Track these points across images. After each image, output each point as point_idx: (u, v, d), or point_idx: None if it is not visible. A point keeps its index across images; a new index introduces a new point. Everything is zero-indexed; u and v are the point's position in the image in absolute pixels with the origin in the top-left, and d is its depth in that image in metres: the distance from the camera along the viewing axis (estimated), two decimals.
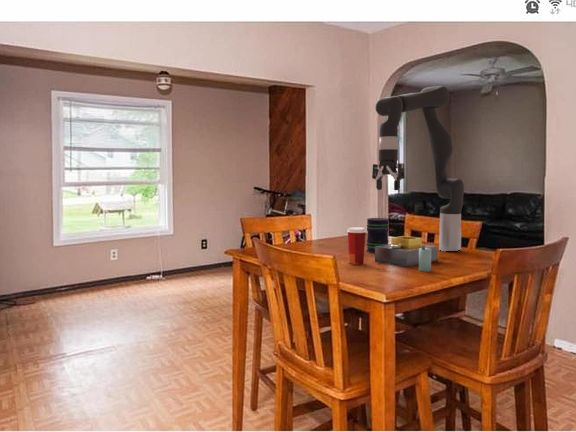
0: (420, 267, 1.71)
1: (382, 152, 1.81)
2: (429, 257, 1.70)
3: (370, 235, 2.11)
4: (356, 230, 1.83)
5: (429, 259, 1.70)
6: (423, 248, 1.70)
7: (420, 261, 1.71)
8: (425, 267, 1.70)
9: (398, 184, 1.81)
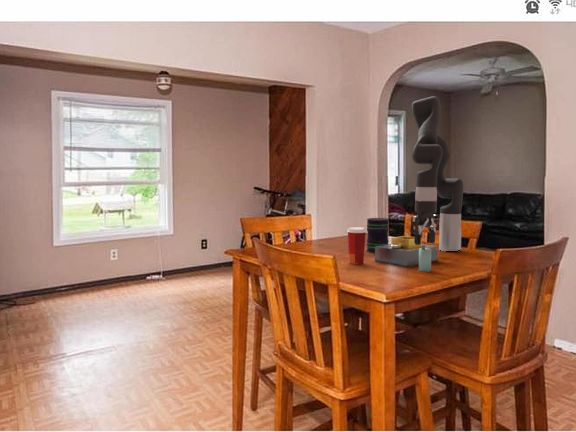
0: (420, 267, 1.71)
1: (434, 204, 1.67)
2: (429, 257, 1.70)
3: (370, 235, 2.11)
4: (356, 230, 1.83)
5: (429, 259, 1.70)
6: (423, 248, 1.70)
7: (420, 261, 1.71)
8: (425, 267, 1.70)
9: None
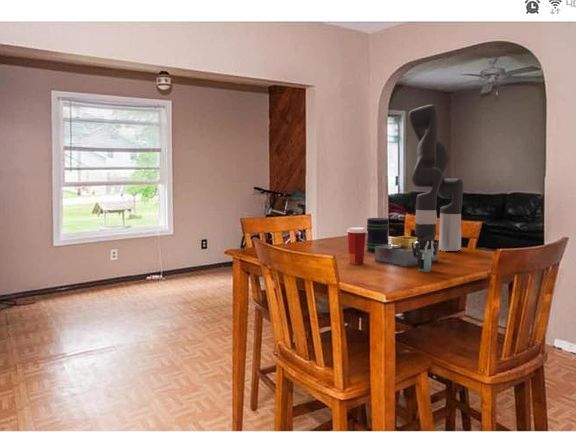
0: None
1: (434, 227, 1.68)
2: (429, 257, 1.70)
3: (370, 235, 2.11)
4: (356, 230, 1.83)
5: (429, 259, 1.70)
6: None
7: None
8: (425, 267, 1.70)
9: None
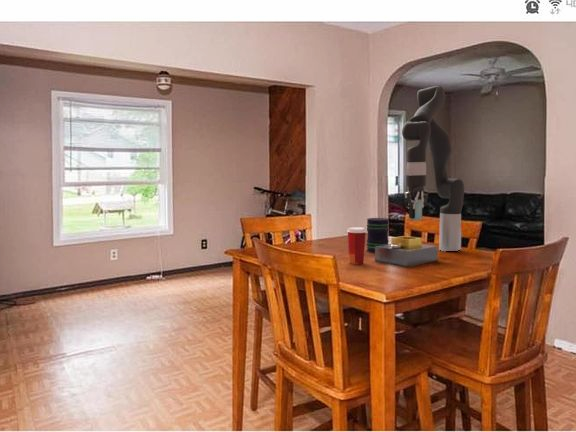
0: None
1: (424, 178, 1.78)
2: (420, 207, 1.80)
3: (370, 235, 2.11)
4: (356, 230, 1.83)
5: (420, 208, 1.81)
6: None
7: None
8: (416, 216, 1.81)
9: None
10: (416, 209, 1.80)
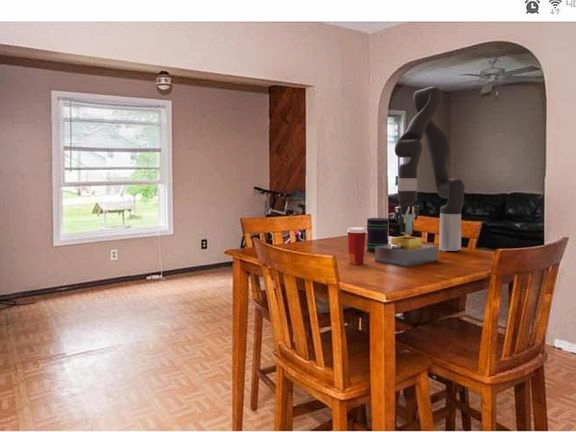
0: None
1: (415, 193, 1.86)
2: (410, 221, 1.88)
3: (370, 235, 2.11)
4: (356, 230, 1.83)
5: (410, 222, 1.88)
6: None
7: None
8: (406, 230, 1.88)
9: None
10: (406, 223, 1.88)
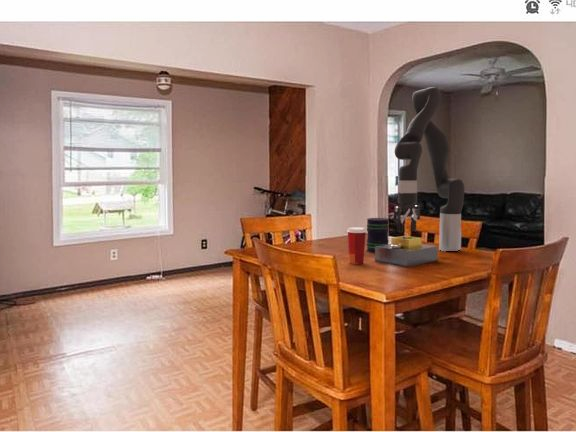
0: None
1: (415, 195, 1.86)
2: None
3: (370, 235, 2.11)
4: (356, 230, 1.83)
5: None
6: None
7: None
8: None
9: None
10: None
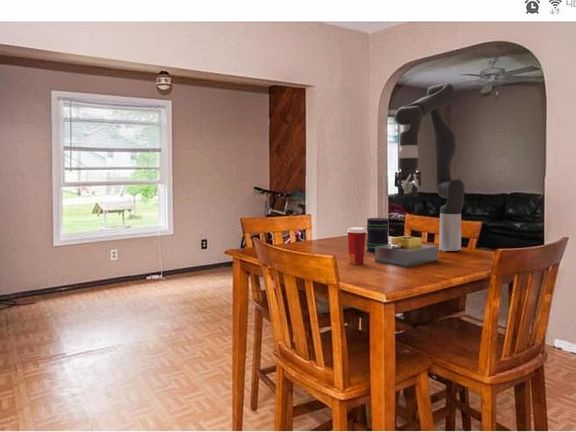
0: None
1: (416, 160, 1.85)
2: None
3: (370, 235, 2.11)
4: (356, 230, 1.83)
5: None
6: None
7: None
8: None
9: None
10: None
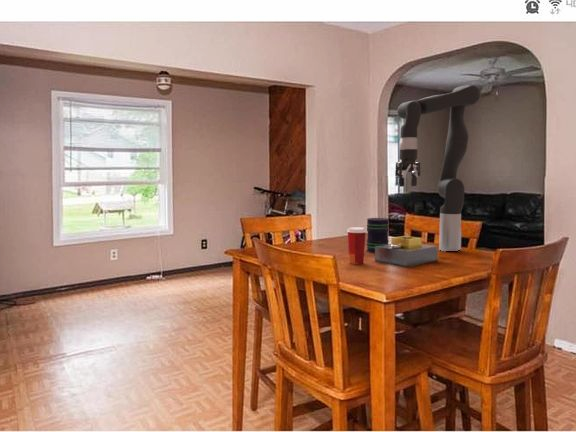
0: None
1: (415, 151, 1.99)
2: None
3: (370, 235, 2.11)
4: (356, 230, 1.83)
5: None
6: None
7: None
8: None
9: None
10: None
